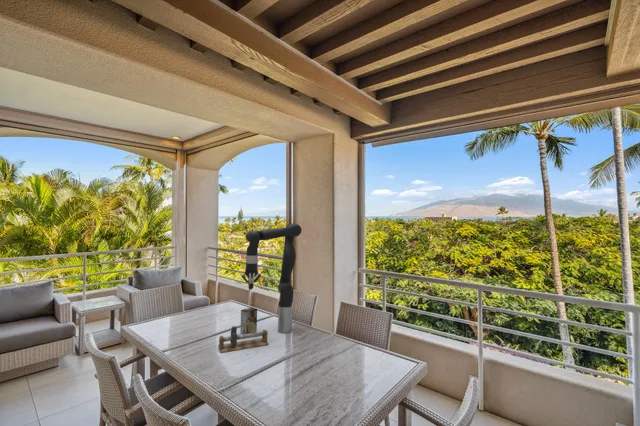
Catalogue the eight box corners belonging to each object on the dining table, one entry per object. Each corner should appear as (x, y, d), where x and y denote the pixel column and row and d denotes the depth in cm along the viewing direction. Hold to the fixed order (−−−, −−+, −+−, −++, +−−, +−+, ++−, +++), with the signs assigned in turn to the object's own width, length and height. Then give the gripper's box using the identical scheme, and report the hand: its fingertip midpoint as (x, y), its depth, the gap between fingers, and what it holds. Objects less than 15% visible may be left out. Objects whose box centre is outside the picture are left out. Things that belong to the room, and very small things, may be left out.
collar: (234, 341, 173) (235, 324, 173) (236, 345, 167) (237, 328, 167) (230, 342, 172) (231, 325, 172) (232, 346, 166) (233, 329, 166)
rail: (264, 339, 182) (264, 328, 183) (268, 345, 174) (268, 333, 174) (218, 346, 170) (218, 334, 170) (220, 353, 161) (221, 340, 161)
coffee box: (250, 330, 198) (251, 306, 198) (256, 332, 194) (257, 308, 194) (239, 333, 190) (240, 309, 191) (245, 336, 186) (246, 311, 187)
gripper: (260, 261, 190) (259, 287, 189) (240, 261, 184) (239, 288, 183) (263, 262, 183) (262, 289, 182) (242, 263, 177) (241, 291, 176)
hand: (250, 289), depth 183 cm, fingers closed
